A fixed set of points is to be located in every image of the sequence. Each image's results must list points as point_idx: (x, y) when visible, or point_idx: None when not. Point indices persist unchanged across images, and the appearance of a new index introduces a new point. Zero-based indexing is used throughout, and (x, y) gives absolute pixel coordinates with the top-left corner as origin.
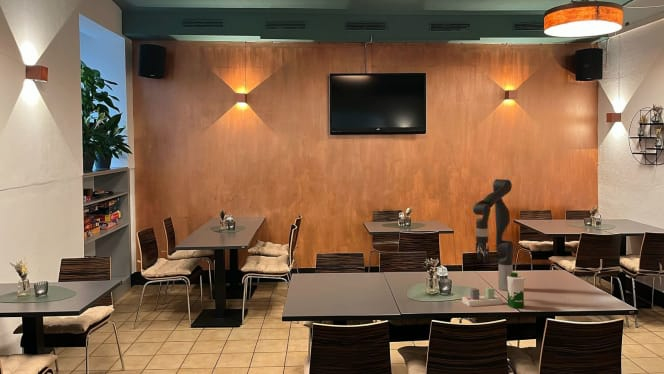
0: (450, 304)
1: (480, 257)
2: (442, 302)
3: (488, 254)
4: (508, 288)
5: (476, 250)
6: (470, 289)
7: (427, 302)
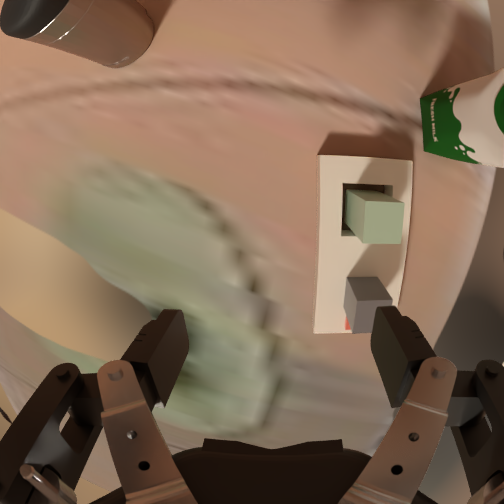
0: (334, 369)
1: (174, 330)
2: (298, 384)
3: (500, 379)
4: (489, 164)
5: (99, 432)
6: (351, 330)
7: (284, 417)
